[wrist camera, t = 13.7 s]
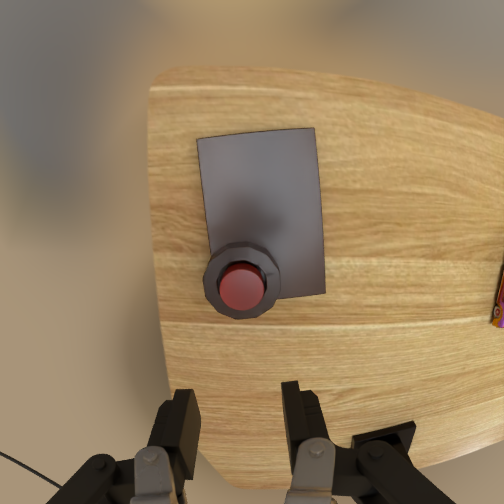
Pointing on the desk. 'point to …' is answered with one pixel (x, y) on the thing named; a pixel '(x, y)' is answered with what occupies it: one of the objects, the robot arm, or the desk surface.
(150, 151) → the desk surface
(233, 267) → the button
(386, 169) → the desk surface
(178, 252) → the desk surface
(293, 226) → the button block
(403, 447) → the bracket
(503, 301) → the toy car
